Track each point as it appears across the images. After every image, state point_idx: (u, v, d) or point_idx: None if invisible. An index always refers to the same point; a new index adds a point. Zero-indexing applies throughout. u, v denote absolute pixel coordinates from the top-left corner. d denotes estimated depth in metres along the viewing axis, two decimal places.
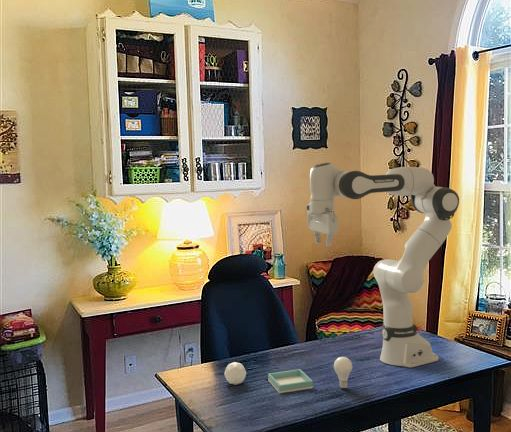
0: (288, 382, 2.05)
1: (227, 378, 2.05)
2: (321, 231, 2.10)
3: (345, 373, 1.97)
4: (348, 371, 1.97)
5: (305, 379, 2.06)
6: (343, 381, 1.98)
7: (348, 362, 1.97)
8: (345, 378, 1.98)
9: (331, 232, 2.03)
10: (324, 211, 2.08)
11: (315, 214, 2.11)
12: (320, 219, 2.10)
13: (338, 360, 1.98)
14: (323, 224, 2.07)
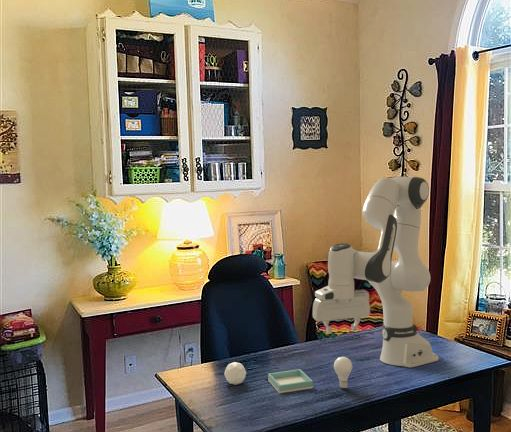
0: (288, 382, 2.05)
1: (227, 378, 2.05)
2: (351, 316, 1.97)
3: (346, 373, 1.97)
4: (348, 371, 1.97)
5: (305, 379, 2.06)
6: (343, 381, 1.98)
7: (348, 362, 1.97)
8: (345, 378, 1.98)
9: None
10: None
11: (347, 300, 1.94)
12: (347, 304, 1.96)
13: (338, 360, 1.98)
14: (356, 308, 1.97)
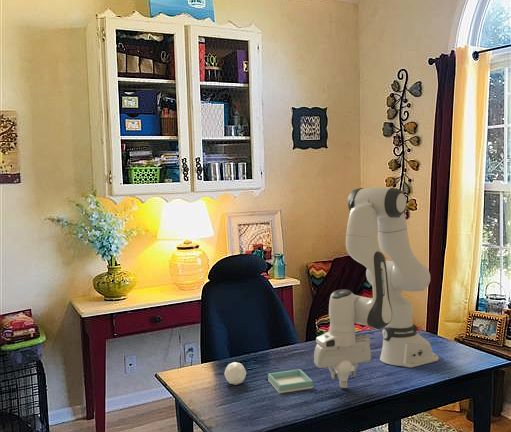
0: (288, 382, 2.05)
1: (227, 378, 2.05)
2: (352, 362, 1.98)
3: (346, 373, 1.97)
4: (348, 371, 1.97)
5: (305, 379, 2.06)
6: (343, 381, 1.98)
7: (348, 362, 1.97)
8: (345, 378, 1.98)
9: None
10: None
11: (348, 346, 1.96)
12: (348, 350, 1.98)
13: None
14: (357, 353, 1.99)
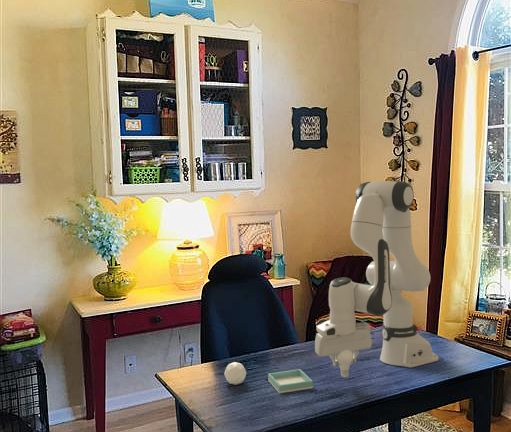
0: (288, 382, 2.05)
1: (227, 378, 2.05)
2: (353, 349, 1.98)
3: (347, 363, 1.97)
4: (349, 360, 1.97)
5: (305, 379, 2.06)
6: (344, 370, 1.99)
7: (349, 351, 1.97)
8: (347, 367, 1.98)
9: None
10: None
11: (348, 334, 1.96)
12: (349, 338, 1.98)
13: None
14: (358, 341, 1.99)
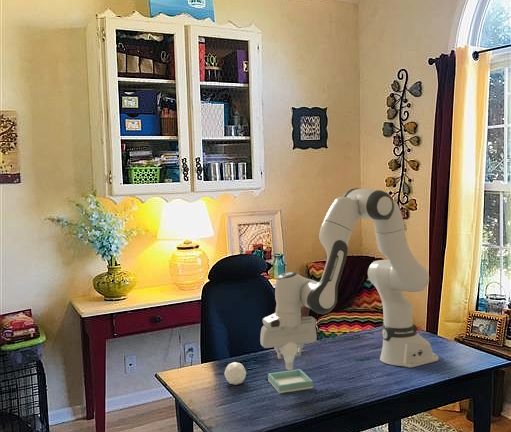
0: (288, 382, 2.05)
1: (227, 378, 2.05)
2: (298, 342, 2.03)
3: (291, 355, 2.01)
4: (293, 353, 2.01)
5: (305, 379, 2.06)
6: (289, 363, 2.03)
7: (293, 344, 2.02)
8: (291, 360, 2.02)
9: None
10: (300, 321, 2.03)
11: (293, 327, 2.00)
12: (294, 331, 2.02)
13: None
14: (303, 334, 2.03)
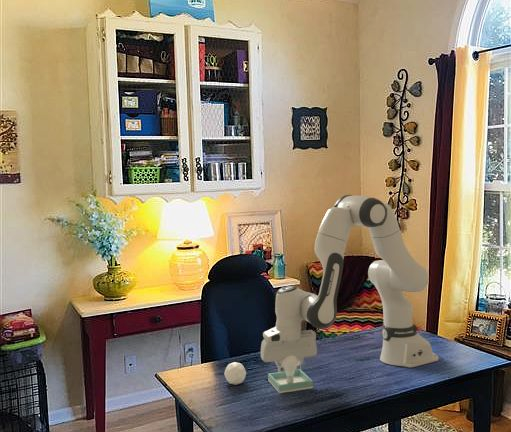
0: None
1: (227, 378, 2.05)
2: (298, 356, 2.03)
3: (291, 368, 2.02)
4: (294, 366, 2.02)
5: (305, 379, 2.06)
6: (289, 376, 2.03)
7: (294, 357, 2.02)
8: (291, 373, 2.03)
9: None
10: (300, 335, 2.04)
11: (293, 341, 2.01)
12: (294, 344, 2.03)
13: None
14: (303, 348, 2.04)
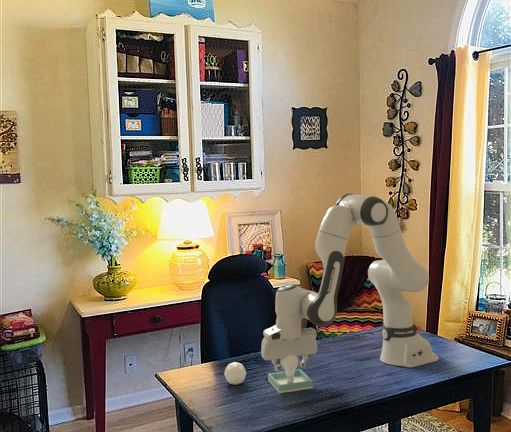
0: None
1: (227, 378, 2.05)
2: (299, 354, 2.03)
3: (291, 368, 2.02)
4: (294, 366, 2.02)
5: (305, 379, 2.06)
6: (289, 376, 2.03)
7: (294, 357, 2.02)
8: (292, 373, 2.03)
9: None
10: (301, 333, 2.04)
11: (293, 339, 2.01)
12: (295, 342, 2.03)
13: None
14: (304, 346, 2.04)
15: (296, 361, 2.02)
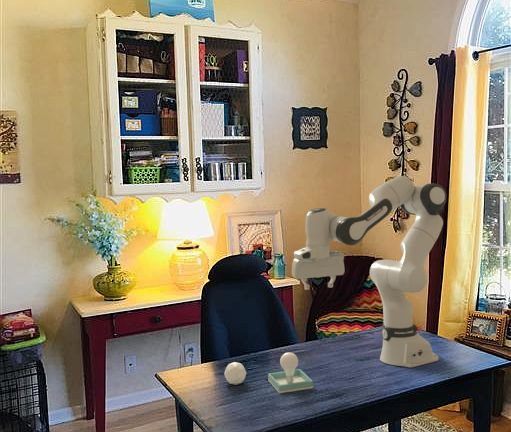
0: None
1: (227, 378, 2.05)
2: (327, 274, 2.15)
3: (291, 368, 2.02)
4: (293, 366, 2.02)
5: (305, 379, 2.06)
6: (289, 376, 2.03)
7: (293, 357, 2.02)
8: (291, 373, 2.03)
9: None
10: (329, 254, 2.15)
11: (322, 259, 2.13)
12: (323, 263, 2.14)
13: (284, 356, 2.03)
14: (332, 266, 2.15)
15: (296, 361, 2.02)
